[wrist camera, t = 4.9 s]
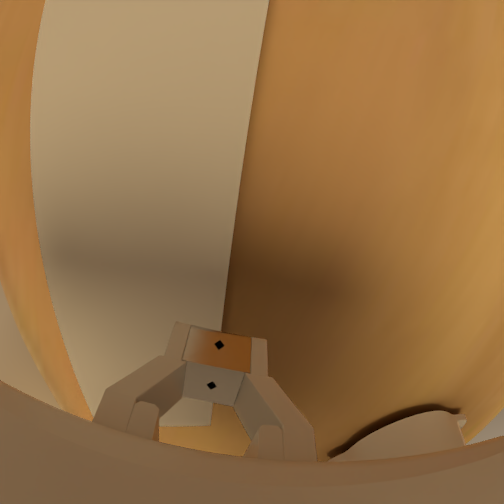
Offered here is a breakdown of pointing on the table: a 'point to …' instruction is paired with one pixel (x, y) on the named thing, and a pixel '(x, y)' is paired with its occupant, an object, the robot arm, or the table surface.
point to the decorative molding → (139, 173)
